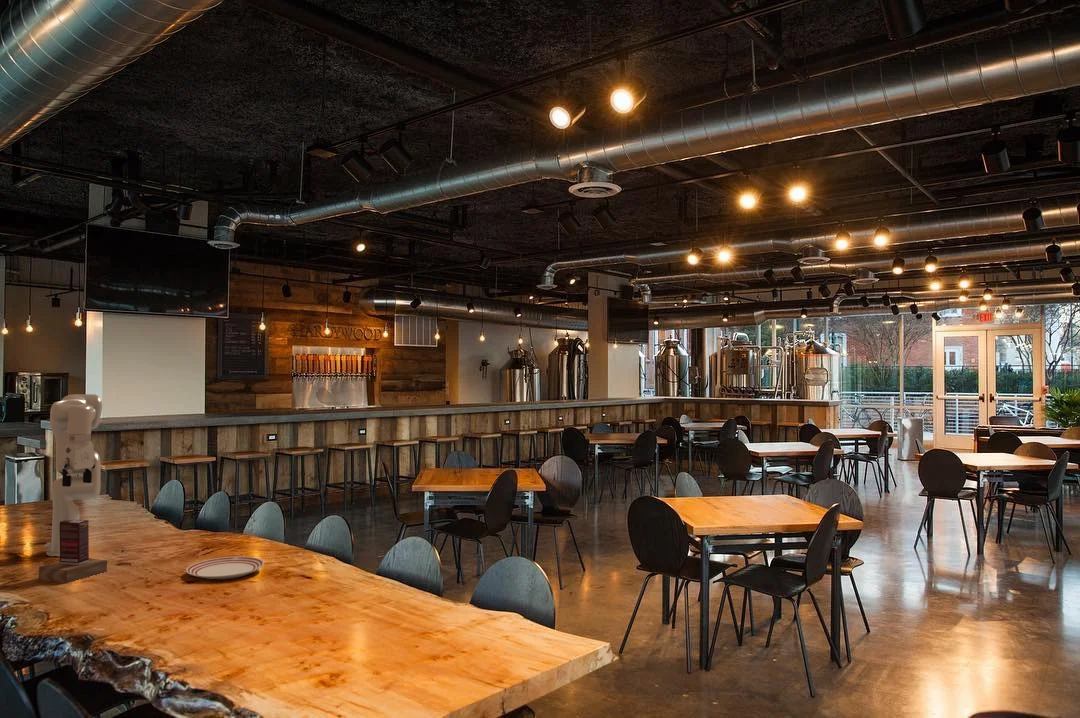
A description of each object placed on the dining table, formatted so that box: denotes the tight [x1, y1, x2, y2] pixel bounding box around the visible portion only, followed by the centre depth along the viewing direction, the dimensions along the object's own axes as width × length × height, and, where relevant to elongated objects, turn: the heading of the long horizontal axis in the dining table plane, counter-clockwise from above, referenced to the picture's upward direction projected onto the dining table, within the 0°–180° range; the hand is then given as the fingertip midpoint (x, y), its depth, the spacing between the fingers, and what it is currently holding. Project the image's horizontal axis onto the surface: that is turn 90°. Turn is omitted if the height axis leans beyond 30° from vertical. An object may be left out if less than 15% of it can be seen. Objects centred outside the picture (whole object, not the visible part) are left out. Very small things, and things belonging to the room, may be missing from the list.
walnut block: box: [38, 557, 108, 584], centre depth 265 cm, size 14×16×5 cm
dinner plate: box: [185, 556, 265, 580], centre depth 272 cm, size 27×27×3 cm
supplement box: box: [59, 519, 90, 565], centre depth 265 cm, size 9×5×16 cm, turn 80°
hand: (77, 484), depth 267 cm, fingers open, 9 cm apart
